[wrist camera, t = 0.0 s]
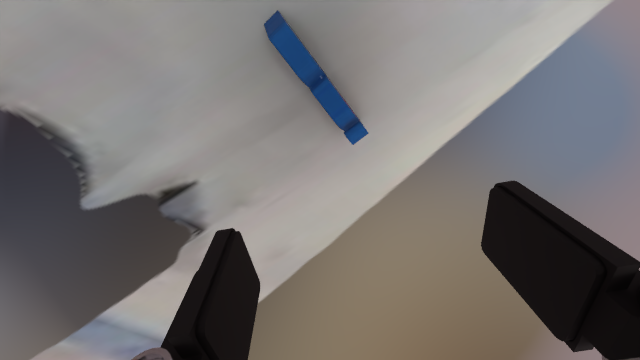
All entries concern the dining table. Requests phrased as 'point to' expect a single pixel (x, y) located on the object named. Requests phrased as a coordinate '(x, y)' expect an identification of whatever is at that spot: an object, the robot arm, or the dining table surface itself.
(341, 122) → the logo
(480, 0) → the dining table surface
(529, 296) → the robot arm
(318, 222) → the dining table surface
